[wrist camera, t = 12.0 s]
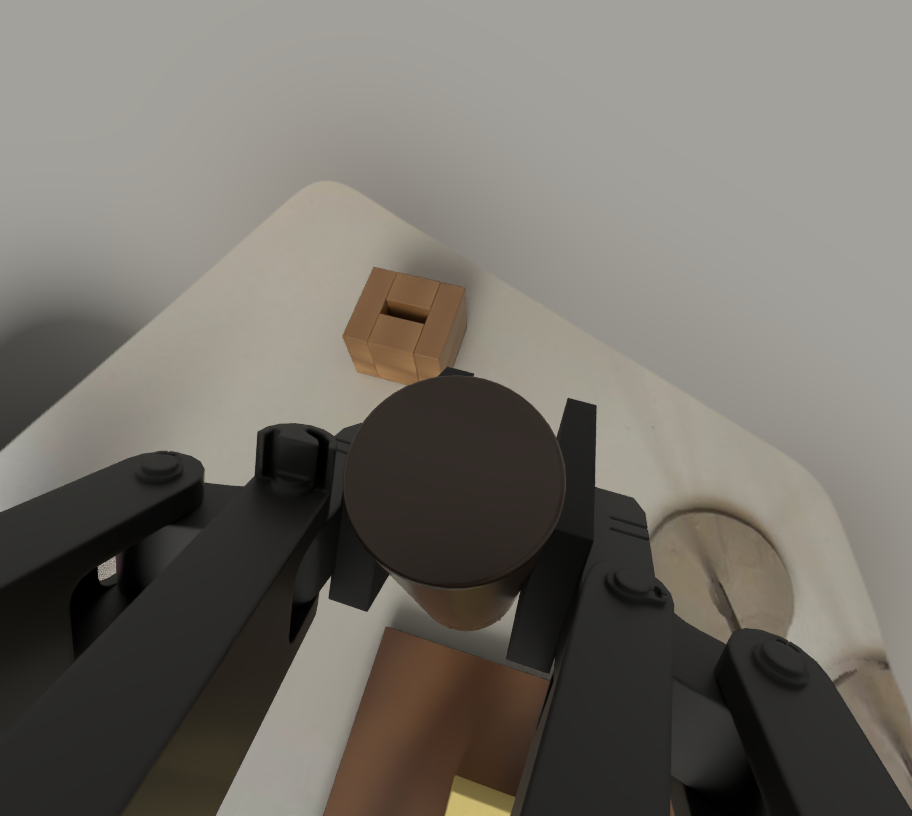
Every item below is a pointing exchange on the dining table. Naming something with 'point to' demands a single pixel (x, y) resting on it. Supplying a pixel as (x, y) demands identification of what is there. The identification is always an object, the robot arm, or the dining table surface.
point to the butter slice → (477, 800)
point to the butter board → (434, 729)
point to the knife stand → (406, 327)
